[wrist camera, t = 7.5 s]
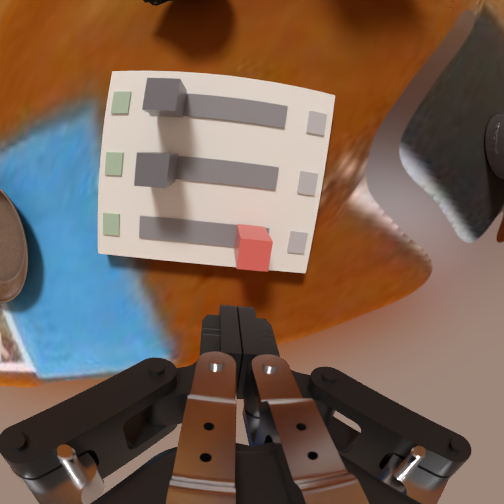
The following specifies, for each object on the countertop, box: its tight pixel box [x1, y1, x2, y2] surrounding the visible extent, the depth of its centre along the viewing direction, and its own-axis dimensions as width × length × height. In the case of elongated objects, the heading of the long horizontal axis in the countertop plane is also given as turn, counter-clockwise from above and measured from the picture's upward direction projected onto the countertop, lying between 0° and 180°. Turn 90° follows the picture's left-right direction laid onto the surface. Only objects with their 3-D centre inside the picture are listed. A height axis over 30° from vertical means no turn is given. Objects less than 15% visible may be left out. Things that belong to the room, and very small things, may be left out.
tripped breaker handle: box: [234, 224, 273, 272], centre depth 25 cm, size 2×2×4 cm
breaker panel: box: [98, 71, 335, 273], centre depth 24 cm, size 20×17×7 cm
